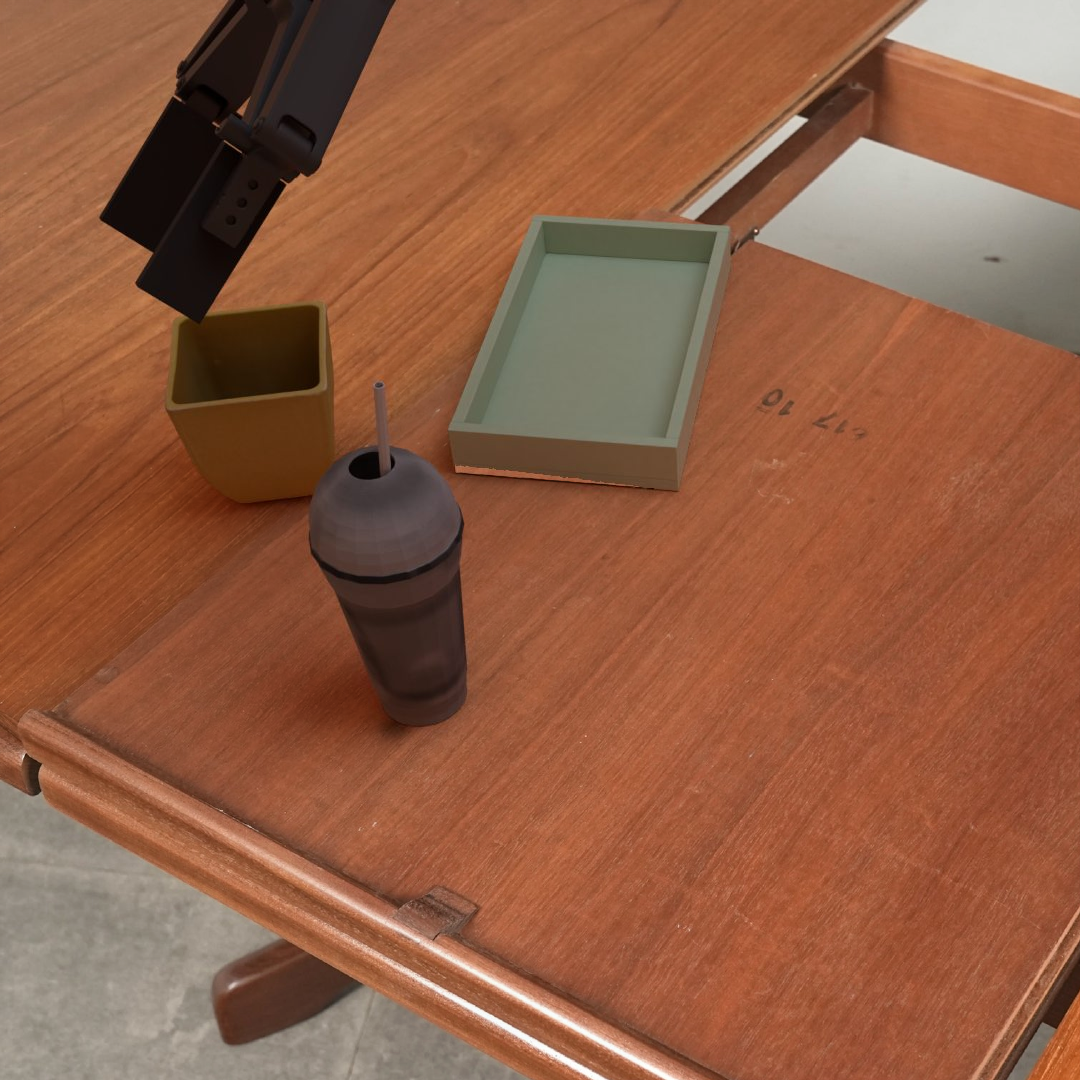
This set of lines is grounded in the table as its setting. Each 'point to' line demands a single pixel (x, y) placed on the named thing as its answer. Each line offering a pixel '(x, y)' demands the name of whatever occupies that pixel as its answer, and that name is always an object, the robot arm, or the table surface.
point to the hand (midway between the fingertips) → (144, 267)
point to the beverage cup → (396, 572)
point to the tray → (596, 352)
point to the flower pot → (255, 398)
